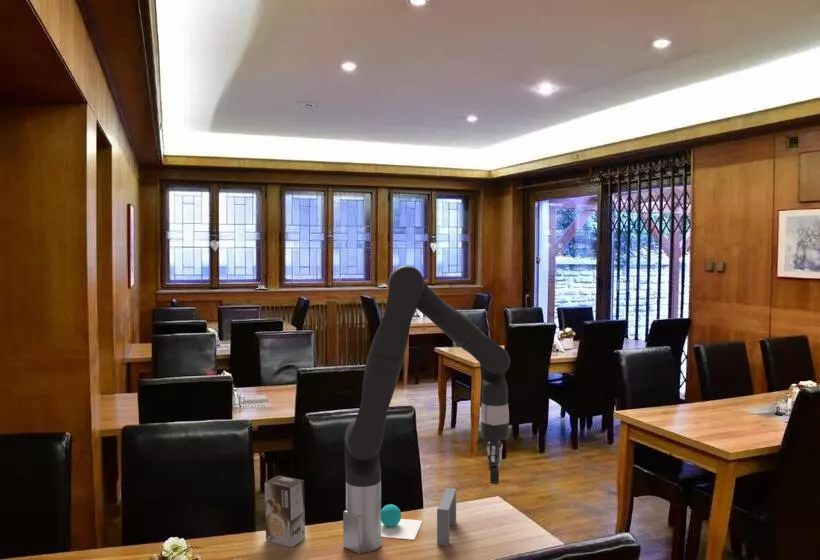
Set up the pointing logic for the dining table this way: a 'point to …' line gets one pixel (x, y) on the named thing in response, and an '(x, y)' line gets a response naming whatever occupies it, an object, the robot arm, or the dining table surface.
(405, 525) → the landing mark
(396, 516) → the ball
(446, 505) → the bridge
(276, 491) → the coffee box
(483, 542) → the dining table surface
